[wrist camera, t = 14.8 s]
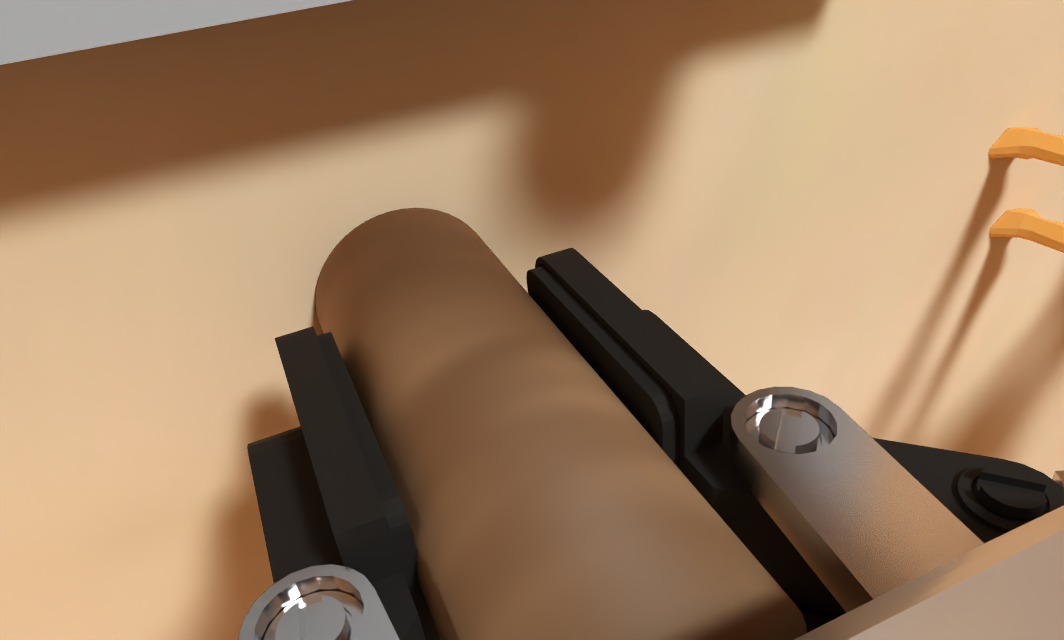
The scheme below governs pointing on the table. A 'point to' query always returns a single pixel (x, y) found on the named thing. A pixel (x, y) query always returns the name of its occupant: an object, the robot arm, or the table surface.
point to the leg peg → (525, 457)
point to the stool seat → (117, 21)
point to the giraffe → (1025, 220)
